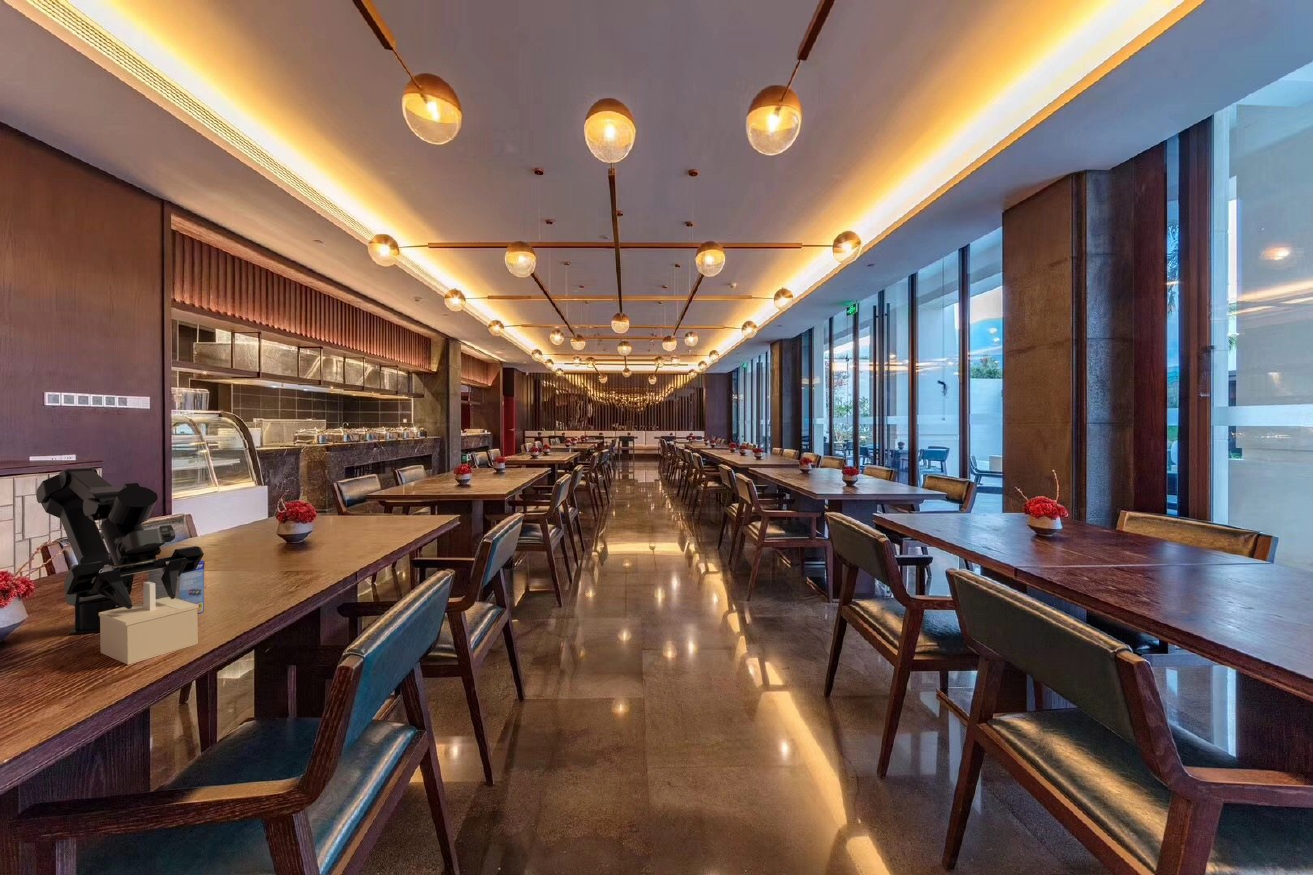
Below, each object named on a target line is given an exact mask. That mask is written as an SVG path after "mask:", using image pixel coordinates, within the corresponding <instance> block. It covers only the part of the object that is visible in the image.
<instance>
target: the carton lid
mask: <svg viewBox="0 0 1313 875" xmlns="http://www.w3.org/2000/svg"><path fill="white" fill-rule="evenodd" d="M142 590H143V591H142V592H143V593H142V594H143V596H142V597H143V598H142V599H143V602H139V603H135V604H133V606H132V608H131V609H127V608H126V607H122V608H117V609H113V610H108V611H104V612H99V616H101V617H103V618H106V619H109V620H111V621H114V622H117V623H119V624H122V625H125V626H128V625H132V624H136V623H140V622H144V621H148V620H152V619H156V618H160V617H164V616H168V615H172V614H176V613H180V612H184V611H188V610H192V609H196V608H199V605H197V604H194V603H190V602H187V601H183V600H180V599H176V598H174V599H171V598H170V597H165V598H161V599H156V594H155V583H152V582H148V581H144V582H143V587H142Z"/></svg>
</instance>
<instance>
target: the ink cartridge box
mask: <svg viewBox="0 0 1313 875" xmlns="http://www.w3.org/2000/svg"><path fill="white" fill-rule="evenodd" d="M205 562H206V561H205V560H202V559H201V560H200V562H199V564H198V566H197V568H196V569H195V570H193V571H191V572H186V573H181V575H180V576H179V577H177V587H176V596H175V598H176V599H180V600H183V601H187V602H190V603H194V604H197V605H199V608H197V615H199V614H203V613H205V564H206V563H205ZM147 572H148V573H147V574H148V575H147V576H148V578H147V582H152V583H155V594H156V599H161V598H165V597H169V596H168V594H167V592H166V589H165V587H164V585H163V583H162V580H161V577H162V575H163V573H164V572H163V570H162V569H158V570H152V571H147Z"/></svg>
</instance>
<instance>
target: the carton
mask: <svg viewBox="0 0 1313 875" xmlns="http://www.w3.org/2000/svg"><path fill="white" fill-rule="evenodd" d="M198 621H199V620H198V614H197V608H196V609H192V610H188V611H184V612H180V613H176V614H172V615H168V616H164V617H160V618H156V619H152V620H148V621H144V622H140V623H136V624H132V625H128V626H125V625H122V624H119V623H117V622H114V621H111V620H109V619H106V618H103V617H101V616H100V633H99V634H100V639H99V640H100V642H99V643H100V653H101V654H103V655H104V656H105V655H106V656H107V657H109V658H112V659H114V660H117V661H118V662H120V663H123V664H125V665H133V664H135V663H139V662H142V661H145V660H149V659H152V658H156V657H159V656H162V655H167V654H169V653H173V652H175V651H179V650H183V649H185V648H189V647H192V646H196V645H199V642H198V641H199V640H198V638H199V636H198V635H199V630H198Z"/></svg>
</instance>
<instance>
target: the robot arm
mask: <svg viewBox="0 0 1313 875" xmlns="http://www.w3.org/2000/svg"><path fill="white" fill-rule="evenodd" d="M35 494H36V495H35V497H36V502H37V503H38V504H41V506H42V508H43V509H44V512H45V513H46V514H48V515H52V516H54V517H56V518H58V519H60V521H61V525H62V527H63V530H64V531H65V534H66V537H67V539H68V543H69V545H70V546H71V550H72V553H73V555H74V557H75V558H76V559H75V560H76V561H77V564H73V565H72V566H71V567H70V569H69V570H68V572H67V574H66V576H65V580H64V583H63V588H64V591H65V595H64V596H65V602H66V604H67V605H69V606H72V607H74V629H73V630H71V631H68V635H79V634H88V633H98V632H100V616H99V612H104V611H108V610H113V609H117V608H122V607H126V608H127V609H131V608H132V606H133V605H134V604H133V601H132V598H131V594H132V593H131V592H132V590H133V582H134V577H135V574H136V575H137V574H140V573H141V574H142V573H146V572H148V571H152V570H158V569H162V570H163V572H164V573H163V575H162V577H161V580H162V583H163V585H164V587H165V589H166V592H167V594H168V596H169V597H170V598H171V599H174V598H175V596H176V587H177V577H179V576H180V575H181V573H186V572H191V571H193V570H195V569H196V568H197V566H198V564H199V562H200V560H202V558H203V557H204V552H203V550H202V547H200V546H199V545H198V546H197V545H192V546H187V547H181V548H180V547H179V548H174V550H173V552H172V555H171V556H169V557H168V556H167V557H161V558H157V556H158V555H160V554H161V552H162V549H161V546H164V545H165V544H166V543H171V542H172V541H173V540H175V539H176V533H175V529H174V528H173V525H172V524H167V525H160V526H159V527H158V528H157V527H156V528H151V529H150V528H149V529H145V527H144V525H143V523H145V522H146V523H147V521H148V520H149V518H150V516H151V514H152V511H153V510H154V506H155V505H156V503H157V501H158V498H159V497H158V494H157V492H155V491H154V490H152V489H150V488H147V487H146V486H145V487H144V486H140V484H139V482H130V483H129V482H128V483H124V484H123V487H119V486H114V485H112V484H111V483H110V482H108V481H107V480H106V479H104V478H103V477H102V476H100V474H98V471H97V468H92V467H75V468H73V467H72V468H71V467H70V468H65V469H61V471H60V472H59V474H55V475H54V476H52V477H51V476H50V477H49V478H47V479H44V480H43V481H41V483H40V484H39V486H38V487H37V489H36V492H35ZM96 521H102V522H101V524H100V526H99V527H98V525H97V523H96ZM99 528H100V530H99ZM100 531H101V532H100Z"/></svg>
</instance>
